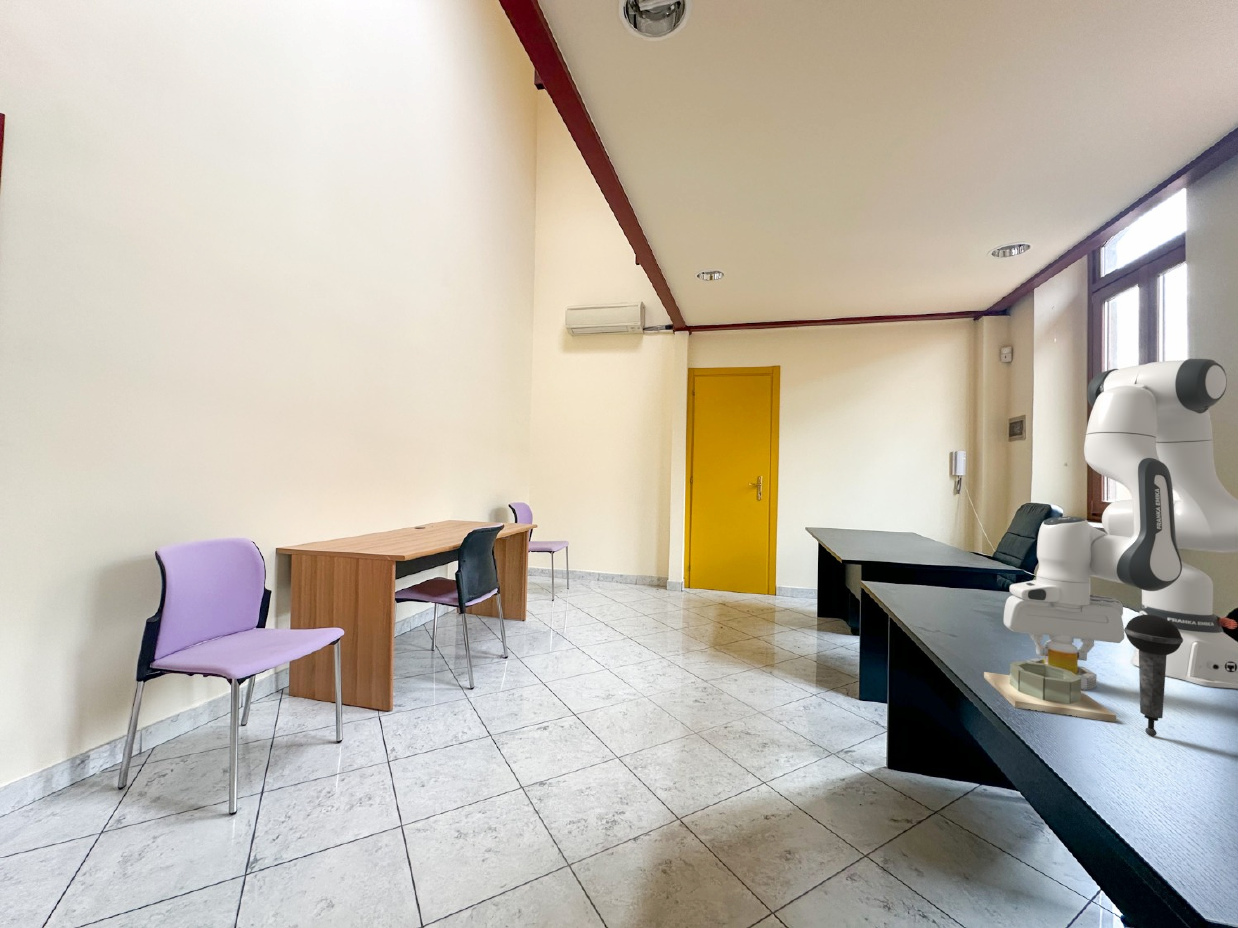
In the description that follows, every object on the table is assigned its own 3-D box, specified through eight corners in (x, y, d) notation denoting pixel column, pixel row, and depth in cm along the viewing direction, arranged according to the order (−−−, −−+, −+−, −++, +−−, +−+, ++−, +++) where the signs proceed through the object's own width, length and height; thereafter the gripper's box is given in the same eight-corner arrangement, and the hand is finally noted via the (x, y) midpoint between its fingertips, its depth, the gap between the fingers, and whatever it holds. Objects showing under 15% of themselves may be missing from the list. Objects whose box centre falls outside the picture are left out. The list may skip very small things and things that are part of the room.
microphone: (1188, 751, 81) (1191, 623, 81) (1128, 737, 85) (1131, 615, 85) (1172, 733, 87) (1174, 614, 87) (1116, 721, 90) (1119, 607, 91)
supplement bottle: (1083, 685, 107) (1084, 638, 107) (1053, 682, 108) (1054, 635, 108) (1066, 675, 112) (1067, 630, 112) (1038, 672, 113) (1039, 628, 113)
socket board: (1069, 688, 105) (1070, 663, 105) (1116, 722, 90) (1116, 692, 90) (984, 677, 109) (984, 652, 109) (1015, 707, 95) (1015, 679, 95)
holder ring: (1076, 673, 113) (1076, 662, 113) (1105, 692, 103) (1105, 679, 103) (1020, 666, 116) (1020, 655, 117) (1043, 684, 107) (1043, 672, 107)
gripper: (1113, 594, 110) (1112, 659, 110) (1001, 584, 116) (999, 646, 116) (1132, 601, 104) (1131, 669, 104) (1013, 590, 110) (1011, 655, 110)
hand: (1060, 657), depth 110 cm, fingers closed on supplement bottle, 5 cm apart
